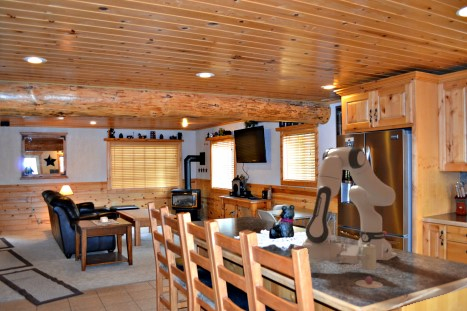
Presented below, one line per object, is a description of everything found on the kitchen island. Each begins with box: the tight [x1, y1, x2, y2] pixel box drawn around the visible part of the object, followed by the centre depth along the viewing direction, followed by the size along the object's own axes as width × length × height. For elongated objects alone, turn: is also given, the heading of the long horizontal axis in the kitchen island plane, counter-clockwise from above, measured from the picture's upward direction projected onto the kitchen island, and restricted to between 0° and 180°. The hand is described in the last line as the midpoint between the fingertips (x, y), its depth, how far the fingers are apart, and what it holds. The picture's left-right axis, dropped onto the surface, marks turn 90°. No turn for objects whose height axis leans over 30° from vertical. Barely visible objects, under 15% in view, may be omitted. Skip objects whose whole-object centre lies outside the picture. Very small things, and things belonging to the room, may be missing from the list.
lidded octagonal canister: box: [360, 243, 377, 271], centre depth 182 cm, size 6×6×11 cm
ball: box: [364, 276, 374, 284], centre depth 170 cm, size 3×3×3 cm
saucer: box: [354, 279, 384, 289], centre depth 170 cm, size 11×11×1 cm
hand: (369, 255), depth 182 cm, fingers closed on lidded octagonal canister, 6 cm apart
